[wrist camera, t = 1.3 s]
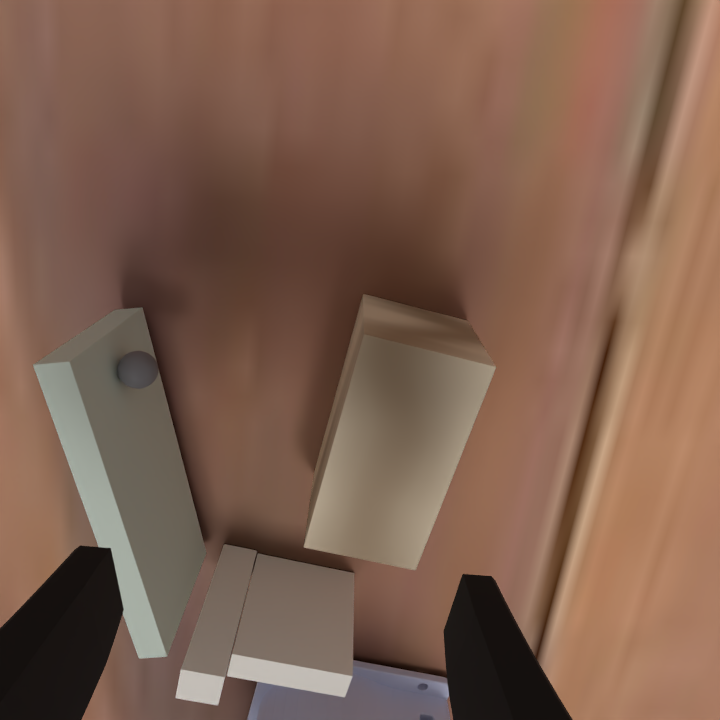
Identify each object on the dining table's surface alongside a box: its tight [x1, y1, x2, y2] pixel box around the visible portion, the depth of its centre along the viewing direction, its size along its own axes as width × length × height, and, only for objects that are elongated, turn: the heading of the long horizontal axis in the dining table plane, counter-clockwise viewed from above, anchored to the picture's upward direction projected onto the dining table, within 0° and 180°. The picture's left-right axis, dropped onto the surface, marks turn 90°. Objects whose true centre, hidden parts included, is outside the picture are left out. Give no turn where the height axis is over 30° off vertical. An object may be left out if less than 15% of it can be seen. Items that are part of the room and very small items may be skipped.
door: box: [33, 307, 206, 658], centre depth 18 cm, size 11×2×5 cm, turn 5°
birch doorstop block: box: [304, 294, 496, 570], centre depth 19 cm, size 4×8×4 cm, turn 165°
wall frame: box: [176, 544, 354, 705], centre depth 20 cm, size 27×2×6 cm, turn 75°
